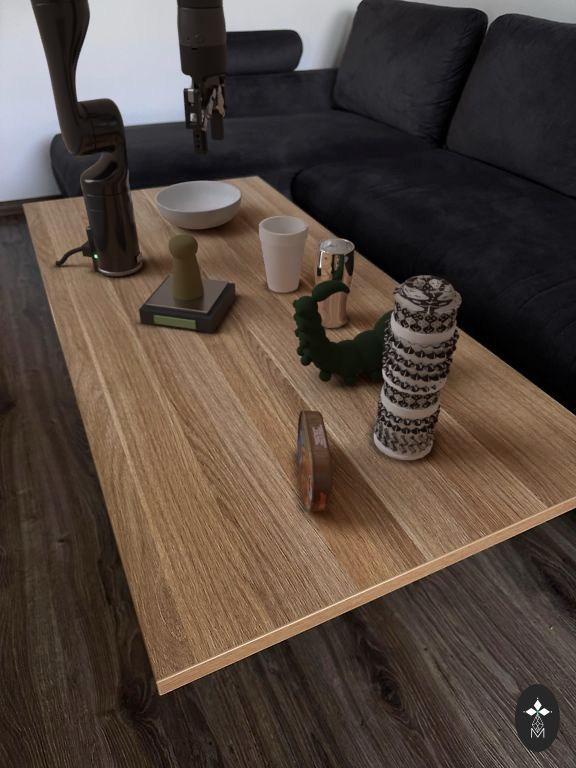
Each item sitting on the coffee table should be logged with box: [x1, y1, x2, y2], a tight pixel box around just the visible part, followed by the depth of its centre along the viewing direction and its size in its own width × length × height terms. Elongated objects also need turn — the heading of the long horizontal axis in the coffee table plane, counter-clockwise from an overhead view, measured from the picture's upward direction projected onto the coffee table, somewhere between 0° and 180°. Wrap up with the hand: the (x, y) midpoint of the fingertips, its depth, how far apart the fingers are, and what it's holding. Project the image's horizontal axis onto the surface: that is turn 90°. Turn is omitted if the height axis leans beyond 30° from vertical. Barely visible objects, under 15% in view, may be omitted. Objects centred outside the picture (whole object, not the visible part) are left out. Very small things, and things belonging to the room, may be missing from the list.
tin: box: [296, 409, 334, 513], centre depth 76 cm, size 15×3×8 cm, turn 5°
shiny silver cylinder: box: [313, 237, 355, 329], centre depth 107 cm, size 7×7×15 cm
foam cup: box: [258, 215, 309, 294], centre depth 118 cm, size 10×9×13 cm
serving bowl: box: [154, 180, 243, 230], centre depth 146 cm, size 21×21×7 cm
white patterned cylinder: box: [373, 274, 463, 461], centre depth 78 cm, size 9×9×25 cm
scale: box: [138, 274, 237, 334], centre depth 113 cm, size 14×14×3 cm
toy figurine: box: [291, 280, 394, 386], centre depth 93 cm, size 9×19×25 cm
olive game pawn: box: [168, 233, 204, 300], centre depth 108 cm, size 6×6×11 cm
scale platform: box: [146, 274, 230, 316], centre depth 112 cm, size 12×12×1 cm
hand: (210, 146), depth 103 cm, fingers open, 8 cm apart
